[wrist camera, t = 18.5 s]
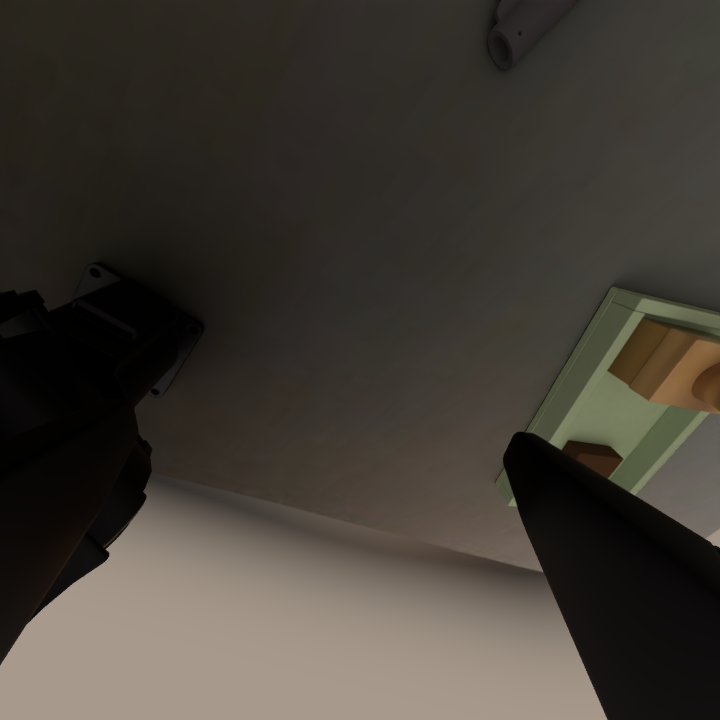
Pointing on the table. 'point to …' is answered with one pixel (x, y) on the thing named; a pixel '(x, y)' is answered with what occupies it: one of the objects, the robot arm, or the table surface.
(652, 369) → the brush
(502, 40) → the bracket
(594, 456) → the dark brown block
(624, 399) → the tray
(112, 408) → the robot arm
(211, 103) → the table surface
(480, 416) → the table surface
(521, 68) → the table surface
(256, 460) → the table surface
